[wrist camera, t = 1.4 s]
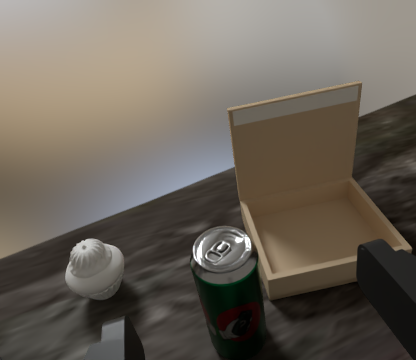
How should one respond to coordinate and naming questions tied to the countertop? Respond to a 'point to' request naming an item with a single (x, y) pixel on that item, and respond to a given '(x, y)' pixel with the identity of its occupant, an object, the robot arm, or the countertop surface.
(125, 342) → the robot arm
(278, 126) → the mailer box
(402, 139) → the countertop surface
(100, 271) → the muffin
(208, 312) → the soda can
